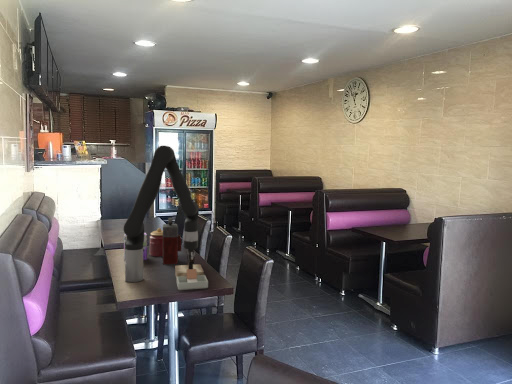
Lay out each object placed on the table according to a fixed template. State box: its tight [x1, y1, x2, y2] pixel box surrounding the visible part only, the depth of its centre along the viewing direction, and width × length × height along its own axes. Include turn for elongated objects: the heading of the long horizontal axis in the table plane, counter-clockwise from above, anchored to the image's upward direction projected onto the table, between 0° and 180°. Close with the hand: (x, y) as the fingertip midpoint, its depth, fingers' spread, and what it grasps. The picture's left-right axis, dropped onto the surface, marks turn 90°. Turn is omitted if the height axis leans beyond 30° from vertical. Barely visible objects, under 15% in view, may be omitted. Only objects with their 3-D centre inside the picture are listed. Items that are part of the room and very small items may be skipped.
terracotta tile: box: [186, 269, 197, 279], centre depth 213 cm, size 5×5×2 cm
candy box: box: [123, 232, 148, 262], centre depth 254 cm, size 14×6×16 cm, turn 112°
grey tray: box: [176, 274, 209, 291], centre depth 210 cm, size 15×11×4 cm
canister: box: [148, 227, 163, 257], centre depth 268 cm, size 13×13×18 cm
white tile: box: [187, 278, 197, 282], centre depth 209 cm, size 5×5×2 cm
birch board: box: [174, 263, 205, 280], centre depth 222 cm, size 14×14×5 cm
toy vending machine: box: [162, 217, 182, 265], centre depth 250 cm, size 9×11×28 cm
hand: (190, 270), depth 216 cm, fingers closed
